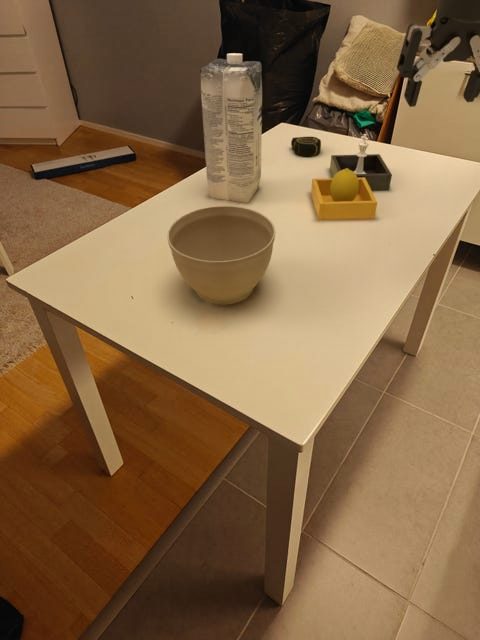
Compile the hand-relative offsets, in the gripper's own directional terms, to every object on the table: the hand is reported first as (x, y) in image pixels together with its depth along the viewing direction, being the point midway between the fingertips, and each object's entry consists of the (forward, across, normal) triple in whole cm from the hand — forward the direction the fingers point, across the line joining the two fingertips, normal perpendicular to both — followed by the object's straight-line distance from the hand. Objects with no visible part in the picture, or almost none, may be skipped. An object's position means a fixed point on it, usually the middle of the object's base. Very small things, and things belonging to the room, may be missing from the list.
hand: (439, 102), depth 68 cm
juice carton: (+28, +30, -18) cm, 45 cm away
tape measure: (+32, +11, -39) cm, 52 cm away
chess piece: (+29, +2, -22) cm, 36 cm away
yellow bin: (+27, +9, -10) cm, 30 cm away
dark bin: (+29, +2, -22) cm, 36 cm away
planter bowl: (+22, +34, +14) cm, 43 cm away
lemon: (+26, +9, -10) cm, 30 cm away
